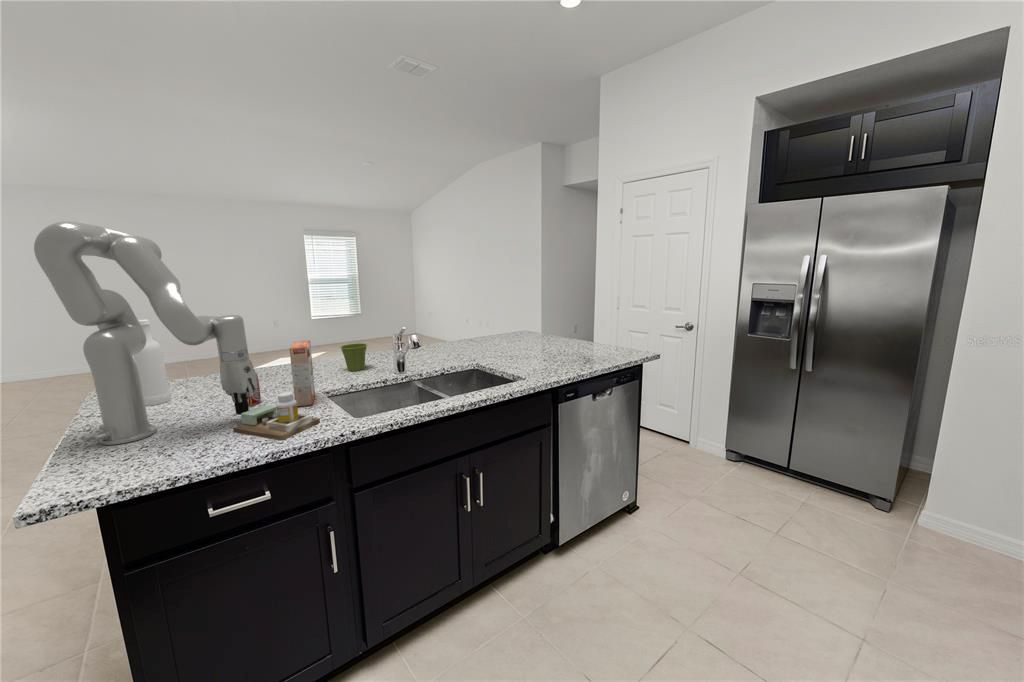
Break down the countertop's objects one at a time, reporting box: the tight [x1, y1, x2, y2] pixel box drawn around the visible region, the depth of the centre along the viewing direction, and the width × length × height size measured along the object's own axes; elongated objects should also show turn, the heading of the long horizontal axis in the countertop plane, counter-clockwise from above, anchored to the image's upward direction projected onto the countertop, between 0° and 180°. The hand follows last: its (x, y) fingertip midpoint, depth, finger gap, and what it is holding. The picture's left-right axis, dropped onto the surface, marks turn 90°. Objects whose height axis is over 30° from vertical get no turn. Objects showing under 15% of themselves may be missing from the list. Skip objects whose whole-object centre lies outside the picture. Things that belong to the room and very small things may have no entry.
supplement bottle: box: [275, 391, 299, 424], centre depth 125 cm, size 5×5×10 cm
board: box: [232, 413, 321, 441], centre depth 128 cm, size 14×19×3 cm
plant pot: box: [339, 342, 368, 372], centre depth 195 cm, size 12×12×11 cm
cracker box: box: [289, 339, 316, 408], centre depth 151 cm, size 14×6×21 cm, turn 22°
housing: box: [240, 404, 277, 425], centre depth 130 cm, size 8×5×3 cm, turn 160°
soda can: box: [248, 369, 262, 407], centre depth 149 cm, size 7×7×12 cm
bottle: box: [133, 319, 171, 407], centre depth 151 cm, size 8×8×30 cm
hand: (242, 413), depth 133 cm, fingers closed
